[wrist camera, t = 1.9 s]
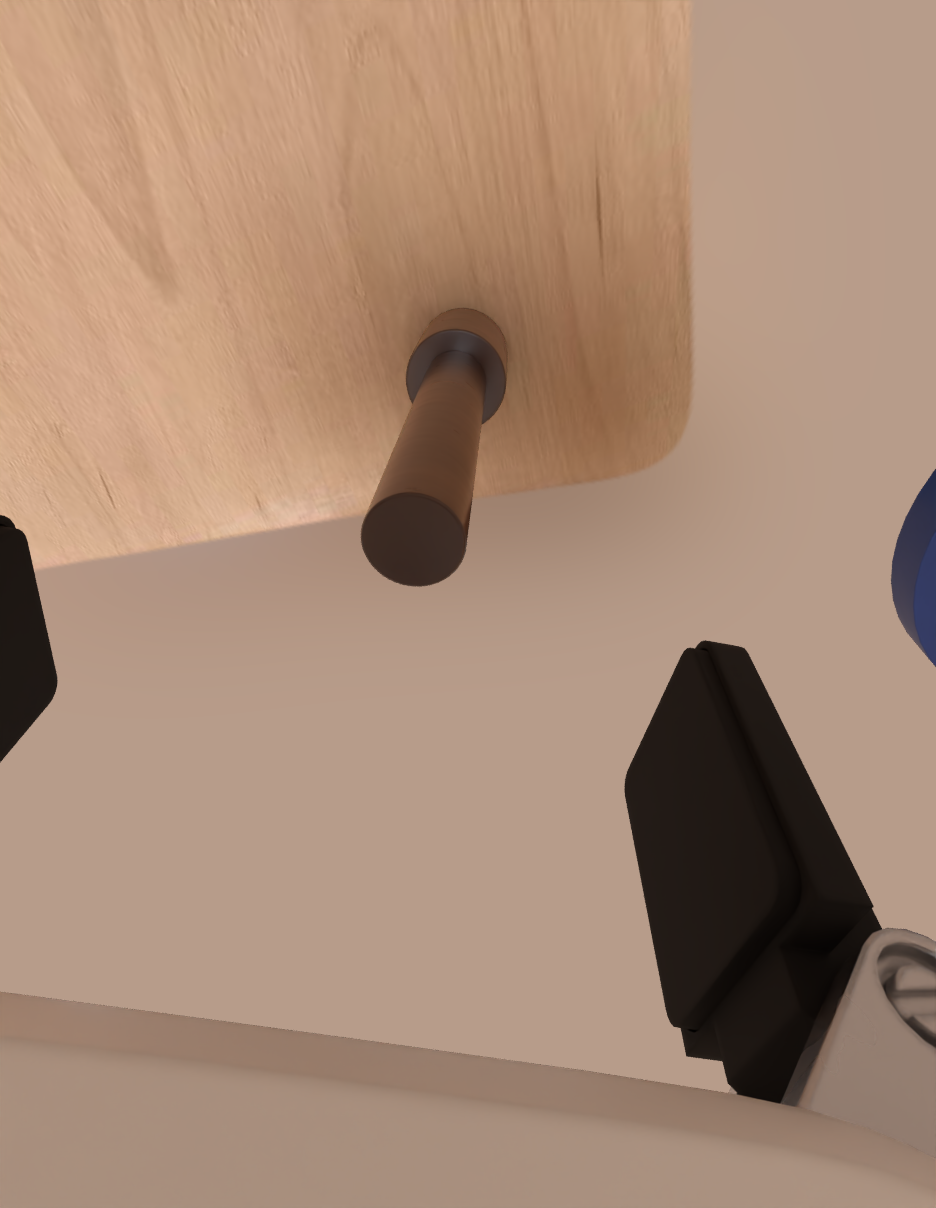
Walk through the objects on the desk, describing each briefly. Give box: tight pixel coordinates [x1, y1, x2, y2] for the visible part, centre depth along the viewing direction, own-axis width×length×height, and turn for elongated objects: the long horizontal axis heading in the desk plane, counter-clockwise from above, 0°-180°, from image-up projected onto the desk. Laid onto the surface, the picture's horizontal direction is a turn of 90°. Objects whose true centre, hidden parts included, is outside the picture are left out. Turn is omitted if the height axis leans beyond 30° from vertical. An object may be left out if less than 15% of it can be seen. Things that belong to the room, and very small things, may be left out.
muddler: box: [361, 308, 507, 586], centre depth 20 cm, size 4×4×16 cm
